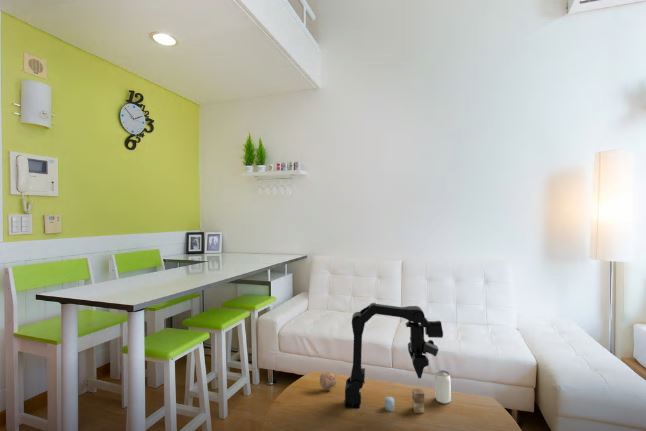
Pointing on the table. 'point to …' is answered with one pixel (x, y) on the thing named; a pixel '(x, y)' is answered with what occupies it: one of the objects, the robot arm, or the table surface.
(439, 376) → the can
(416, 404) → the tower base
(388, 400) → the pale blue rounded blob
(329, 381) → the brown wrinkled rounded piece
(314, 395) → the table surface
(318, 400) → the table surface
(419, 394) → the tower top
